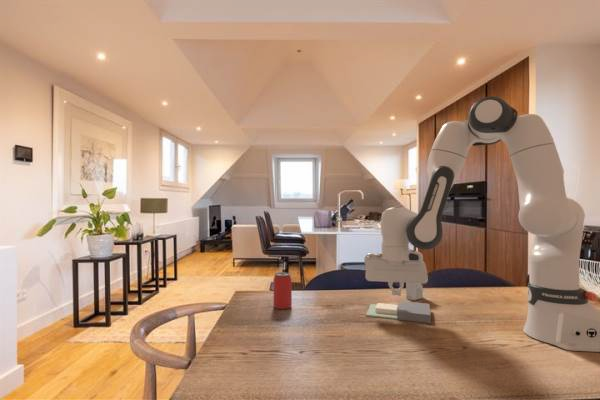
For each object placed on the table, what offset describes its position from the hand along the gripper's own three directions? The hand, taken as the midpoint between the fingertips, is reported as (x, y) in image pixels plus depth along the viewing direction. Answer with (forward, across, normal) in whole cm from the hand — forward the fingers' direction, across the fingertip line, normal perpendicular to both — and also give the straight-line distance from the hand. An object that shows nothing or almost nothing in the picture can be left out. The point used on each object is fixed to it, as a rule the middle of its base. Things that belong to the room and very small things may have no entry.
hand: (396, 295), depth 110 cm
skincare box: (+6, +6, +22) cm, 23 cm away
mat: (+6, -5, +1) cm, 8 cm away
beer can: (+6, -40, -4) cm, 40 cm away
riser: (+6, +5, +1) cm, 8 cm away
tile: (+6, -3, +1) cm, 7 cm away
